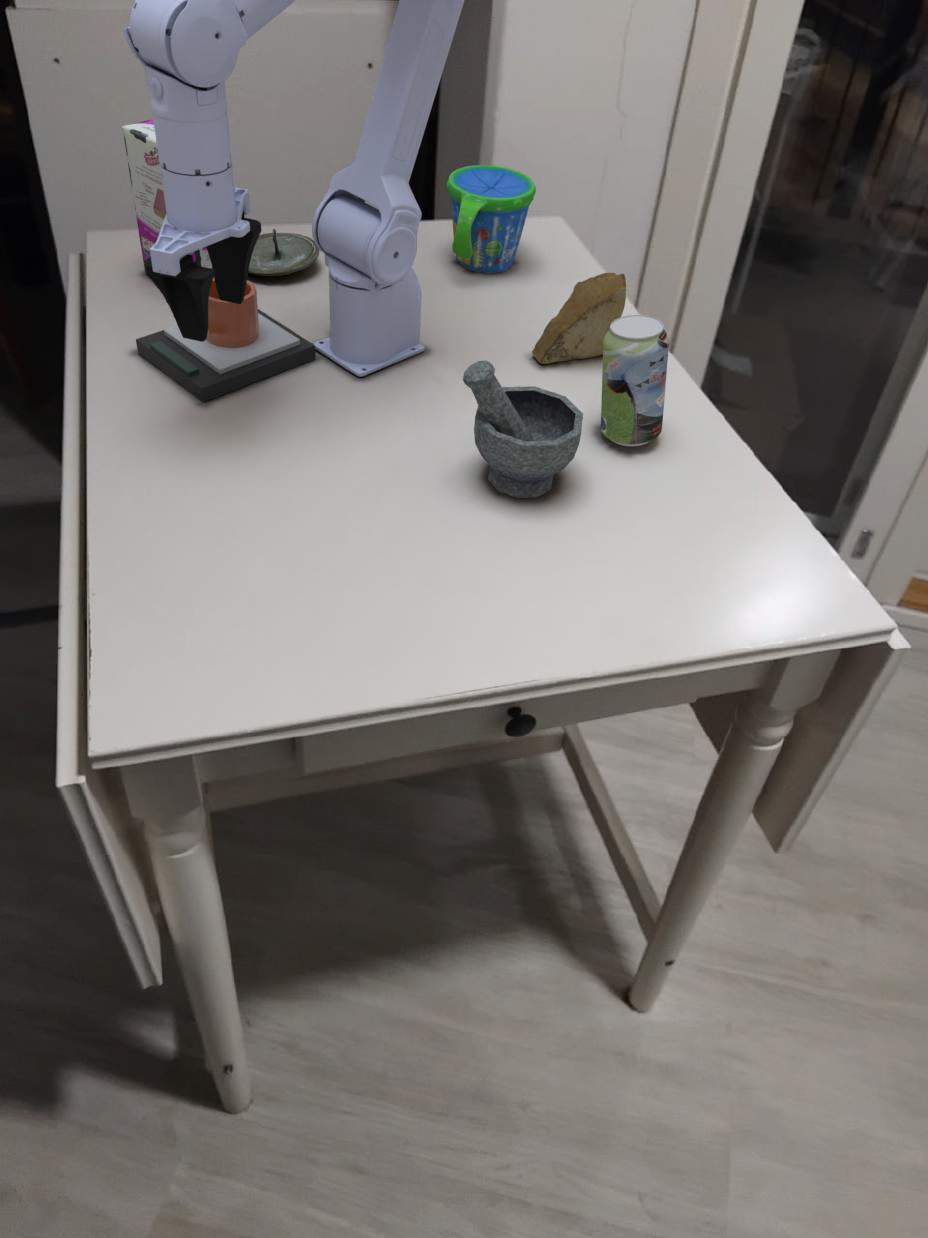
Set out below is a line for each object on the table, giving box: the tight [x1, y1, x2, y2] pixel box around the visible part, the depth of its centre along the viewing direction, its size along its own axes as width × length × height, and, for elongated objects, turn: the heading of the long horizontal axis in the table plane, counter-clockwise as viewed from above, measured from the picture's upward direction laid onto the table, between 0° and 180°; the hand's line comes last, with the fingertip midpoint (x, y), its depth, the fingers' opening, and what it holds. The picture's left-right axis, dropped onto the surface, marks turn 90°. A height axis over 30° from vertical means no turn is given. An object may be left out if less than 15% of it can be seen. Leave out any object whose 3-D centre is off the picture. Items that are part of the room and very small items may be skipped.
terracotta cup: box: [206, 278, 259, 348], centre depth 97 cm, size 6×6×5 cm
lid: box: [248, 228, 320, 277], centre depth 114 cm, size 11×10×5 cm
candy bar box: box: [121, 119, 213, 274], centre depth 105 cm, size 11×5×16 cm, turn 49°
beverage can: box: [600, 314, 670, 447], centre depth 91 cm, size 6×7×12 cm
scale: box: [135, 308, 316, 403], centre depth 99 cm, size 14×12×2 cm
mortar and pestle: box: [462, 360, 584, 499], centre depth 84 cm, size 11×9×12 cm
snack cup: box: [446, 164, 537, 274], centre depth 117 cm, size 16×10×10 cm
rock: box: [531, 272, 627, 365], centre depth 104 cm, size 11×9×10 cm
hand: (213, 318), depth 86 cm, fingers open, 7 cm apart
